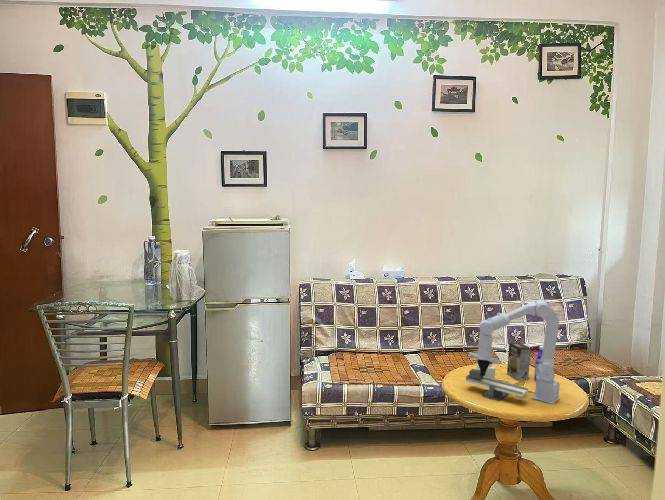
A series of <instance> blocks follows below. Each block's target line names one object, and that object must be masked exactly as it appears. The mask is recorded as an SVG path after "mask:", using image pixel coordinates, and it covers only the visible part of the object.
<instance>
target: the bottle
mask: <svg viewBox="0 0 665 500" xmlns="http://www.w3.org/2000/svg"><path fill="white" fill-rule="evenodd" d="M543 345H544V344H543ZM543 345H539V348H538V349H539V350H538V352H537V354H536V356H537V357H536V359H535V362H534V375H533V378H534V380H535V381H536V377H537V375H538V374H539V372H538V371H537V365H538V364H539V362H540V358H541V357H542V351H543Z"/></svg>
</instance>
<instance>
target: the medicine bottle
mask: <svg viewBox="0 0 665 500" xmlns="http://www.w3.org/2000/svg"><path fill="white" fill-rule="evenodd" d="M493 364H494V363H492V362H491V363H490V364H489V366H488V368H487V370H486V373H485V376H483V377H486V378H490V379H494V380H496V368H495V366H494V365H493ZM476 370H480V368H479V365H478V363H477V362H476Z"/></svg>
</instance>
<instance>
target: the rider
mask: <svg viewBox="0 0 665 500" xmlns="http://www.w3.org/2000/svg"><path fill="white" fill-rule="evenodd" d="M468 374H469V378H471V379H475V380H478V381H482V380H483V376H481V371H480V370H477V368H476V369H475V368H472V369H470V370H469V372H468Z"/></svg>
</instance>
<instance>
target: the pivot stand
mask: <svg viewBox="0 0 665 500" xmlns="http://www.w3.org/2000/svg"><path fill="white" fill-rule="evenodd" d="M498 381H502V382H504V381H503V380H498ZM508 394H509V395H510V393H506V392H502V391H499V390H495V389H494V387H493V386H489V388H488V390H486V391H485V392H484V393H482V395H481V396H482V397H484V398H487V399H491V400H494V401H498V402H500V401H502V400H504V399H505V398H506V397H507V395H508ZM509 395H508V396H509Z"/></svg>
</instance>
